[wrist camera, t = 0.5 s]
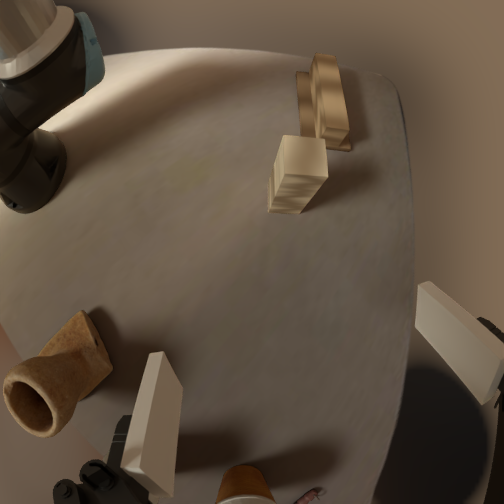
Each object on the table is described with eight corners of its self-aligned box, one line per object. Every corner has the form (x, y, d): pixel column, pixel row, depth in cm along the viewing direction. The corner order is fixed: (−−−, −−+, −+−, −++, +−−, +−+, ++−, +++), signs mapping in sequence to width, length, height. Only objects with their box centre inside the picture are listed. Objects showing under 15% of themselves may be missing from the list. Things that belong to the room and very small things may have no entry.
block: (268, 212, 42) (284, 173, 29) (267, 183, 43) (283, 135, 29) (298, 214, 43) (328, 176, 29) (298, 185, 43) (324, 139, 30)
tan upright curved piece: (76, 419, 35) (27, 455, 21) (34, 359, 36) (-26, 374, 21) (136, 373, 38) (92, 406, 23) (88, 307, 39) (28, 308, 24)
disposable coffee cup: (207, 459, 36) (201, 505, 24) (270, 452, 37) (283, 497, 25) (217, 501, 35) (215, 548, 23) (276, 495, 36) (288, 541, 24)
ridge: (348, 151, 45) (363, 132, 39) (301, 146, 44) (311, 125, 38) (337, 80, 47) (347, 58, 41) (295, 74, 47) (302, 50, 40)
